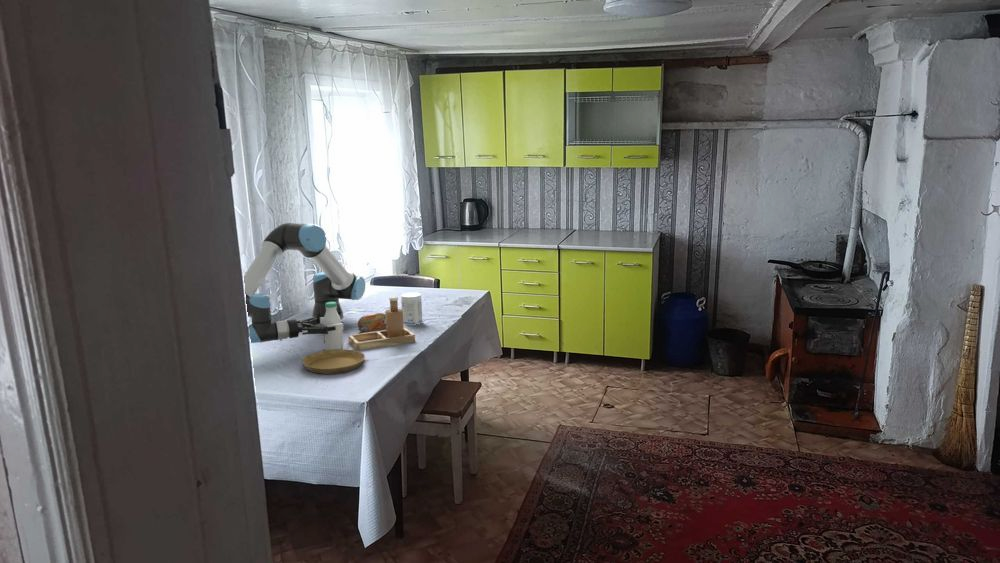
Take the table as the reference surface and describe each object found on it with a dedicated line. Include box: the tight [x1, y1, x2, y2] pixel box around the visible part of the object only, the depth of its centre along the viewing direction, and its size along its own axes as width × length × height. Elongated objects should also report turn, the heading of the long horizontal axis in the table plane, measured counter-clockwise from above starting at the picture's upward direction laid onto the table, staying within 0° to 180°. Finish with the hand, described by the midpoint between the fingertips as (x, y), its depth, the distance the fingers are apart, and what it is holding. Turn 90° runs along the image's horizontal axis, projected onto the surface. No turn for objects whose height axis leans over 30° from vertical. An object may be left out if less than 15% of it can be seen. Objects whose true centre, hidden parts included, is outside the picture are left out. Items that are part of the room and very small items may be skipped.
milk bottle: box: [322, 302, 344, 351], centre depth 283 cm, size 8×8×20 cm
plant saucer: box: [301, 348, 366, 375], centre depth 264 cm, size 24×24×3 cm
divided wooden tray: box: [348, 326, 416, 351], centre depth 290 cm, size 13×26×4 cm, turn 117°
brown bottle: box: [384, 296, 405, 338], centre depth 291 cm, size 8×8×19 cm
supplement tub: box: [400, 292, 423, 326], centre depth 319 cm, size 10×10×15 cm
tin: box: [357, 312, 386, 333], centre depth 308 cm, size 15×3×8 cm, turn 129°
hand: (339, 322), depth 284 cm, fingers open, 13 cm apart
